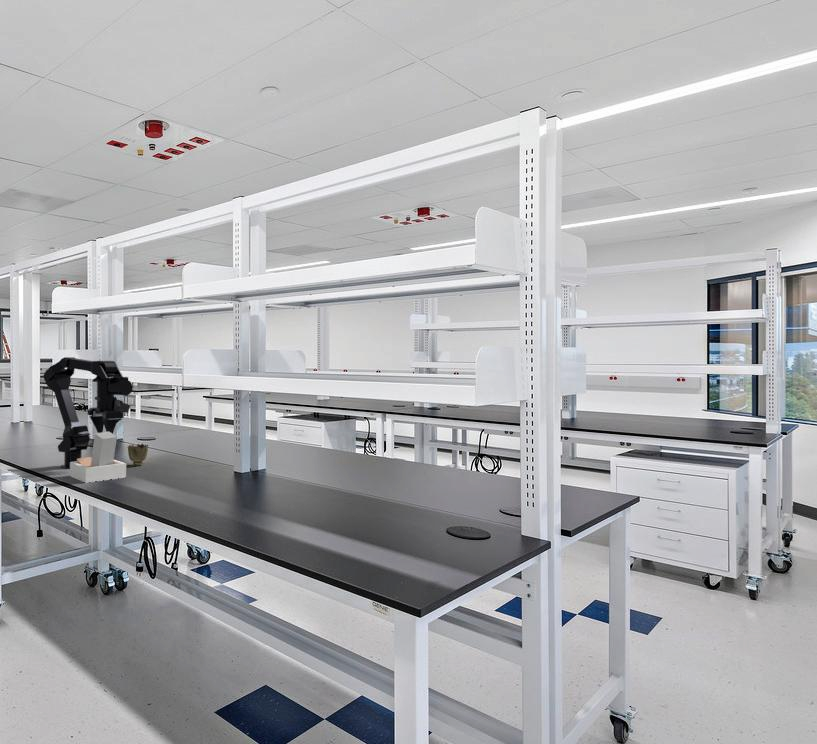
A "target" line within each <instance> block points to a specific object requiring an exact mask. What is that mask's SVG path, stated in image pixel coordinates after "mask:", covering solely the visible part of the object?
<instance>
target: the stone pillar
mask: <svg viewBox="0 0 817 744" xmlns="http://www.w3.org/2000/svg"><path fill="white" fill-rule="evenodd" d="M93 438H94V439H93V444H92V445H93V446H92V452H91V457H92V458H91V467H96V466H104V465H113V461H114V460H115V459H114V458H115V454H116V453H115V452H116V445H117V440H118V436H117V435H115V433H113V434H112V433H111V432H109V431H108V432H106V431H103V432H102V433H98V432H96V433H94V437H93Z"/></svg>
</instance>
